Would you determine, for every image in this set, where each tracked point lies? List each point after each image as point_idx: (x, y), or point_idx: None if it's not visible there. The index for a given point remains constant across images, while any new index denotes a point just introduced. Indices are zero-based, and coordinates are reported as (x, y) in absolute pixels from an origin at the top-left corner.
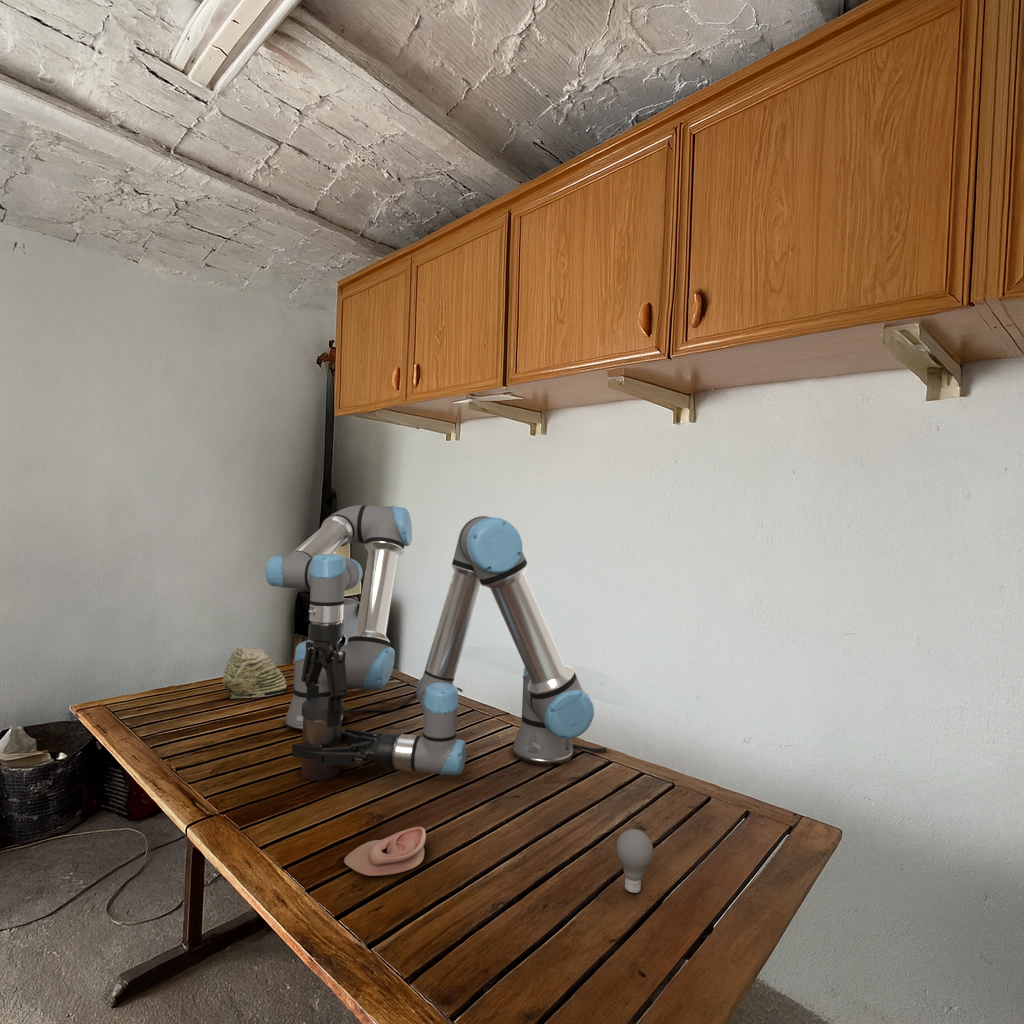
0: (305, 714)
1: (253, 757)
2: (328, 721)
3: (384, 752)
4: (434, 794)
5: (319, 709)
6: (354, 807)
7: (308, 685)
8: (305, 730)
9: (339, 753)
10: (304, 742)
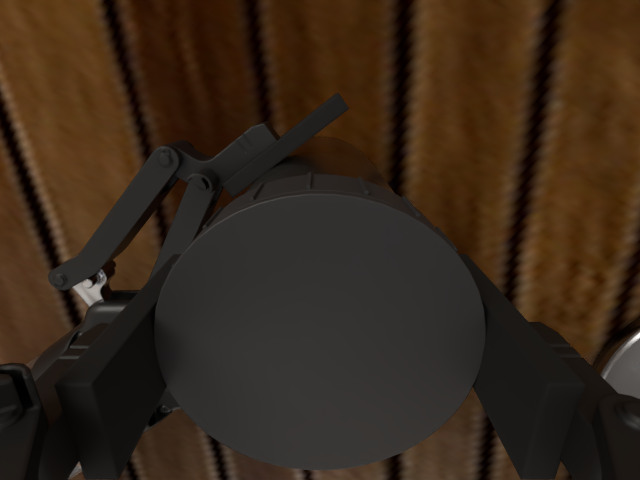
0: (300, 180)
1: (610, 73)
2: (168, 269)
3: (47, 355)
4: (5, 357)
5: (182, 262)
6: (24, 156)
7: (595, 415)
8: (313, 166)
9: (116, 220)
10: (321, 156)
